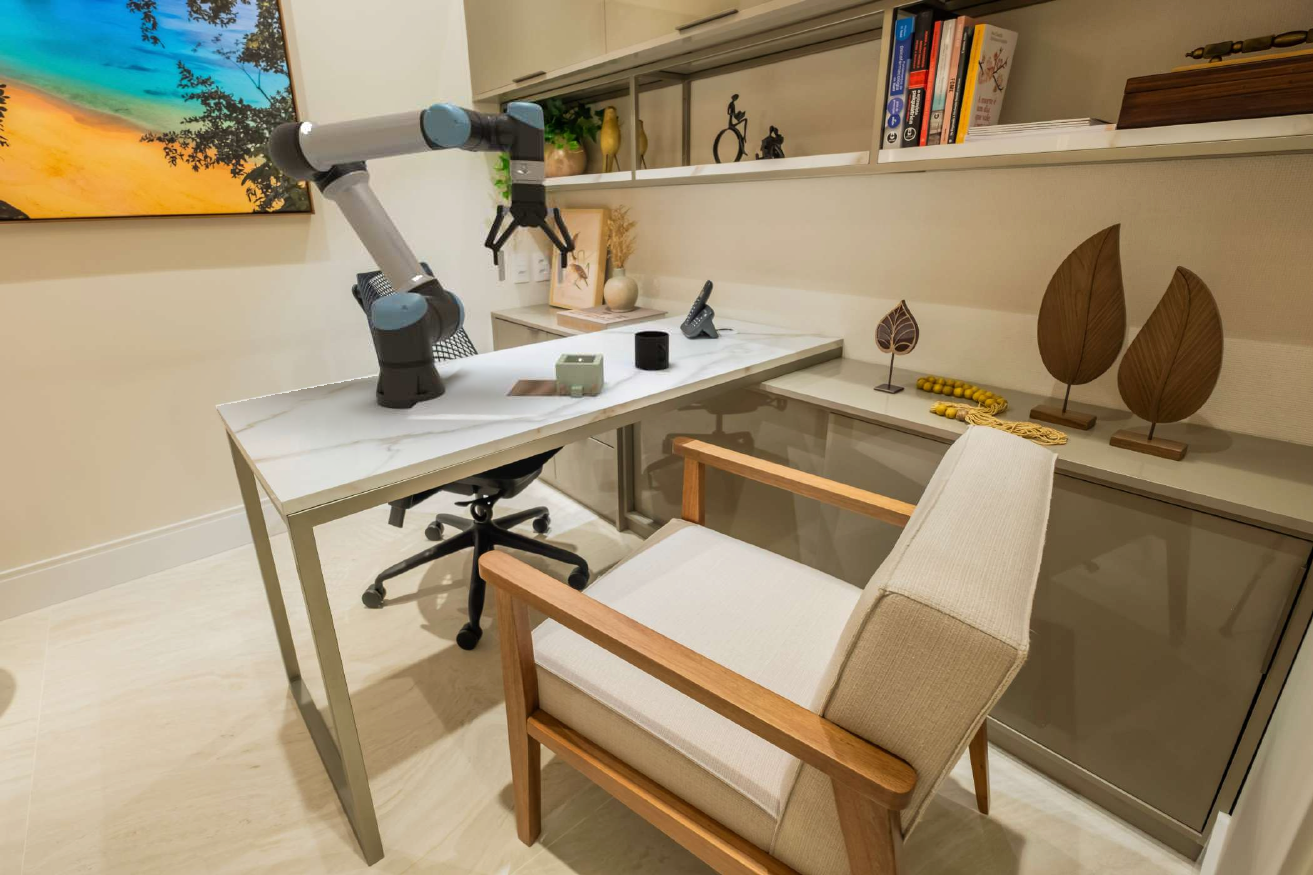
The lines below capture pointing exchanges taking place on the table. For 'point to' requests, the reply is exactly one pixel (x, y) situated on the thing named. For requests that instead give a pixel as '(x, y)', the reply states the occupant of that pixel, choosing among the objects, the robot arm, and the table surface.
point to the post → (580, 360)
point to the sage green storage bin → (580, 373)
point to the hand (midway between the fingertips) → (531, 281)
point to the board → (543, 388)
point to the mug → (651, 350)
